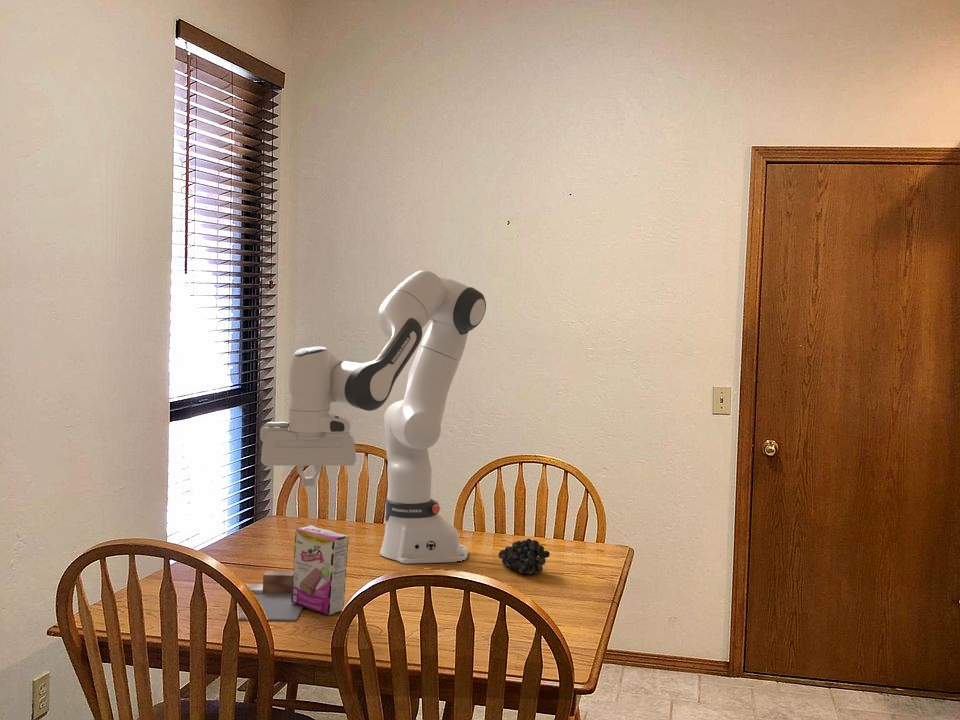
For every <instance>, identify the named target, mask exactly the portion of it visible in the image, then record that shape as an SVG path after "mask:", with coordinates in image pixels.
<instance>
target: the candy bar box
mask: <svg viewBox="0 0 960 720" xmlns="http://www.w3.org/2000/svg"><path fill="white" fill-rule="evenodd" d="M294 536H295V537H294V555H293V569H292V572H293V582H292V597H291V603H294V604H297V605H300V606H303V608H305V609H309V610H312V611H315V612H318V613H321V614H324V615H326V616H333V615H335V614H338V613H340V612H343V611H342V609H343V607H344V608H345V595H346V593H345V592H346V581H347V579H346V578H347V564H348V552H349V551H348V549H349V536H348V535H346V534H343V533H340V532H336V531H332V530H329V529H326V528H322V527H318V526H314V525H306V526H302V527H298V528H295V535H294Z"/></svg>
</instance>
